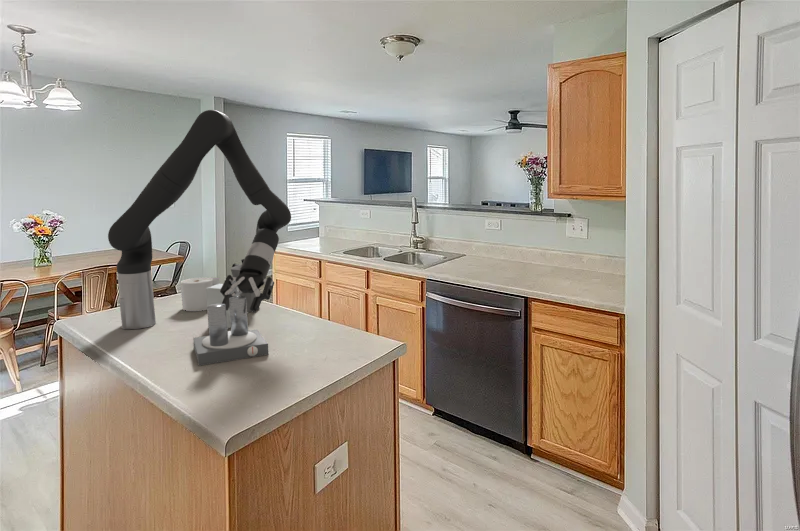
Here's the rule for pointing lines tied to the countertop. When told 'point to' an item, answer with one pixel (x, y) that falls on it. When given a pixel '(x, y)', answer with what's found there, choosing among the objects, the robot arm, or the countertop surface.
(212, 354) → the scale
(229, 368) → the countertop surface
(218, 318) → the cylinder
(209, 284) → the toilet tissue
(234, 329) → the spacer
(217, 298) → the supplement box
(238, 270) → the coffeepot
